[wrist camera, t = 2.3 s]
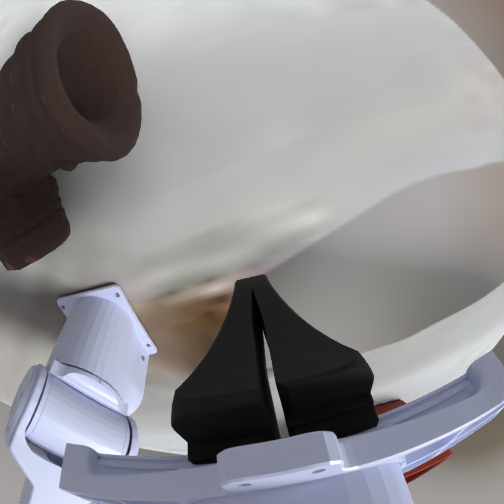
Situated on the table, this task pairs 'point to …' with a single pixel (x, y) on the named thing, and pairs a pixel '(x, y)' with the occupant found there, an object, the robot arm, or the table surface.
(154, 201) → the table surface
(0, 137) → the dark brown rounded piece
